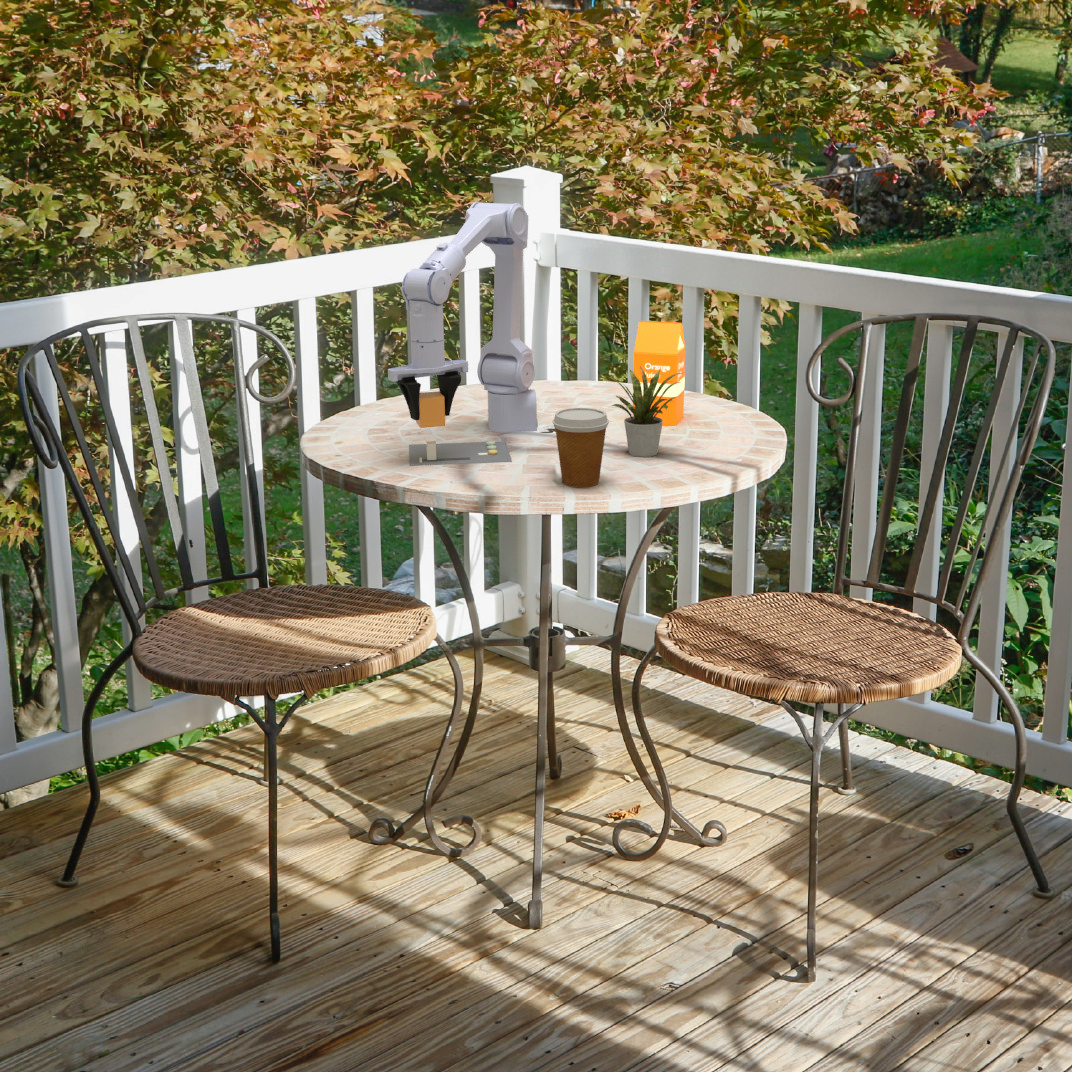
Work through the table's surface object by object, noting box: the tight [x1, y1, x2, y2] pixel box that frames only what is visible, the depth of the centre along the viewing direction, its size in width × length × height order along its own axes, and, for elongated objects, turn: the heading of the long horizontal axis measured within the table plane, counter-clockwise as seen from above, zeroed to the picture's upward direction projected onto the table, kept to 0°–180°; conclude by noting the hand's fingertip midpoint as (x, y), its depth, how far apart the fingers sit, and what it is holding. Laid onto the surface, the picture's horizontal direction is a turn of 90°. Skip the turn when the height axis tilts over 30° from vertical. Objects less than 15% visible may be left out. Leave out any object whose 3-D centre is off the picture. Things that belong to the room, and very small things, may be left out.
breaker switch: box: [425, 440, 437, 460], centre depth 231 cm, size 2×2×3 cm
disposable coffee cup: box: [552, 407, 610, 488], centre depth 221 cm, size 10×10×12 cm
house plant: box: [606, 365, 683, 458], centre depth 237 cm, size 14×14×16 cm
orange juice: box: [632, 320, 686, 427], centre depth 260 cm, size 8×9×20 cm
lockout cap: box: [415, 391, 446, 429], centre depth 229 cm, size 4×4×5 cm
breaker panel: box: [408, 440, 513, 467], centre depth 236 cm, size 18×14×2 cm
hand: (430, 416), depth 229 cm, fingers closed on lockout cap, 5 cm apart
